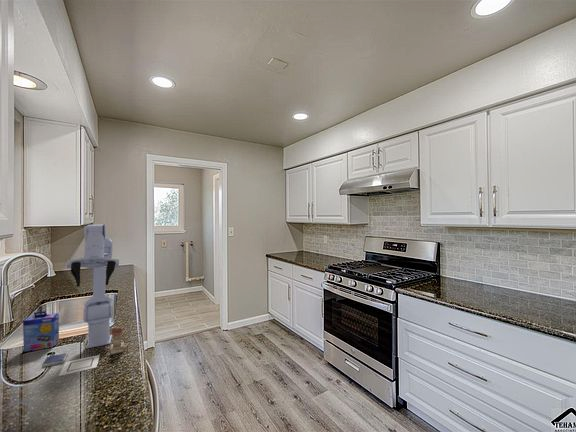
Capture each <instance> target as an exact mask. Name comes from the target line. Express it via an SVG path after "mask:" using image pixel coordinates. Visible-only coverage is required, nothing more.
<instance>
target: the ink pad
mask: <svg viewBox="0 0 576 432" xmlns="http://www.w3.org/2000/svg"><path fill="white" fill-rule="evenodd" d="M68 357H69V353H68V352H65V353H59V354H55V355H51V356H47V357H46V358H45V360H44V361H43V362H42V364H41V368H45V367H46V368H47V367H52V366H56V364H57V365H60V364H65V363H66V360H67V358H68Z"/></svg>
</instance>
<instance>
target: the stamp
mask: <svg viewBox="0 0 576 432" xmlns="http://www.w3.org/2000/svg"><path fill="white" fill-rule="evenodd" d="M122 333H123V328H122V327H120V326H115V327H114V328H113V329H112V330H111V335H112V338H113V339H112V341H113V342H112V343H113V344H111V346H110V356H113V355H117V354H118V355H119V354H123V353H124V348H125V345H124V343H125V342H122Z"/></svg>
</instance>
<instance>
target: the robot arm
mask: <svg viewBox="0 0 576 432" xmlns="http://www.w3.org/2000/svg"><path fill="white" fill-rule="evenodd" d="M83 228H84V230H83V233H84V234H83V235H84V254H83V256H84V257H82V258H75V259H67V260H66V269H70V273H71V275H72V277H74V280H75V283H76V287H77V288H79V287H80V285H81V268H87V269H93V281H92V284H93V286H92V296H91V297H90V298H89V299H88V300H86V301H85V303H84V308H83V322H84V323H87V326H88V328H87V329H88V331H87V332H88V335H87V336H88V340H87V341H88V342H87V344H86V346H85V349H90V348H91V349H92V348H95V347H101V346H104V345H105V346H106V345H110V344H111V343H112V342H111V341H112V338H113V335H112V334H111V329H110V328H111V326H110V320H111V319H112V318H113V317H114V302H113V299H112V298H111V296H108V295H106V286H108V285H109V282H110V278H111V277H112V275H113V273H114V271H115V269H116V268H118V267H119V266H120V265H119V264H120V259H118V258H112V257H113V240H112V239H110V237H107V227H106V224H87V225H84V227H83Z"/></svg>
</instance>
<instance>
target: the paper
mask: <svg viewBox="0 0 576 432" xmlns="http://www.w3.org/2000/svg"><path fill="white" fill-rule="evenodd" d="M100 356H101V354H97V355H96V354H95V355H93V356H88V357H83V358H79V359H74V360H68V361H65V362H64V364H63V367H62V368H61V370H60V373H58V377H61V376H66V375H70V374H76V373H79V372H83V371H88V370H92V369H96V368H97V367H98V363H99V361H100Z"/></svg>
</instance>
